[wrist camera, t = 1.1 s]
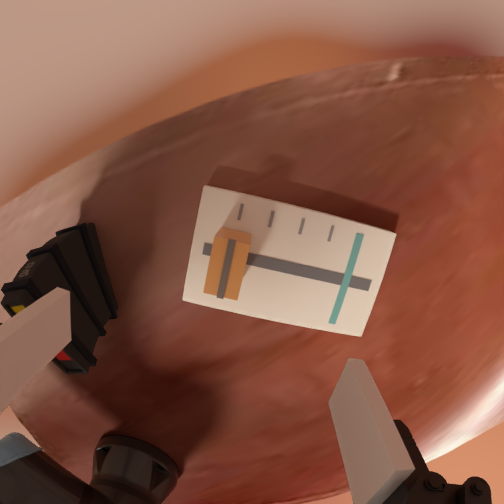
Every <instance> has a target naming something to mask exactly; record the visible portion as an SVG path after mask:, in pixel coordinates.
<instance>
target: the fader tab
mask: <svg viewBox="0 0 504 504" xmlns="http://www.w3.org/2000/svg"><path fill="white" fill-rule="evenodd" d="M251 236H252V234H250V233H246V232H241V231H237V230H233V229H228V228H224V227H221V228H220V229H219V231H218V232H217V233H216V235H215V236H214V240H213V245H212V250H211V255H210V260H209V265H208V270H207V275H206V280H205V286H204V291H203V293H206V294H211V295H215V296H217V297H216V298H220V299H223V298H228V299H232V300H238V296H239V292H240V287H241V283H242V279H243V275H244V270H245V266H246V262H247V257H248V253H249V249H250V245H251Z"/></svg>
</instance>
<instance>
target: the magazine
mask: <svg viewBox="0 0 504 504" xmlns="http://www.w3.org/2000/svg"><path fill="white" fill-rule="evenodd" d="M26 256H27V258H28V261H27V262H26V263H25V264H24V265H23V267H22V268H21V269H20V270H19V271H18V273H17V275H16V276H15V278H14V280H13V282H9V283H5V284H4V285H3V287H2V289H1V291H2V292H3V293H4V295H5V296H4V298H3V299H2V301H1V305H2V306H3V307H4V309H5V310H6V311H7V312H8V313H9V315H10V316H11V317H13V316H15V315H16V314H18V313H19V312H20V311H22V310H23V309H25V308H26V307H28V306H29V305H31V304H32V303H34V302H35V301H37V300H38V299H40V298H41V297H43V296H45V295H46V294H48V293H49V292H51V291H52V290H54V289H55V288H57V287H59V288H62V289H65V290H67V291H70V320H71V341H70V342H69V343H68V344H67V345H66V346H65V347H64V348H63V349H62V350H61V351H60V352H59V353H58V354H57V355H56V356H55V357H54V358H53V359H52V361H53V362H54V363H55V364H56V365H57V366H58V367H59V368H60V369H61V370H63V371H64V372H65V373H67V374H88V370H89V366H95V365H96V362H97V359H96V358H95V357H94V356H93V351H94V347H95V344H96V341H97V339H98V337H99V336H105V335H106V331H105V329H104V328H103V327H104V325H105V324H106V322H107V321H108V319H116V318H117V314H116V310H117V309H118V306H117V303H116V300H115V297H114V294H113V291H112V288H111V284H110V281H109V278H108V274H107V271H106V268H105V264H104V260H103V257H102V253H101V249H100V246H99V242H98V238H97V234H96V230H95V226H94V224H93V223H89V224H86V223H83V224H80V225H76V226H73V227H70V228H66V229H63V230H60V231H57V232H56V237H54V238H52V239H51V240H49V241H48V242H47V243H45V244H44V245H43V246H42V247H40V248H36V249H33V250H30V251H29V253H28V254H27V255H26Z"/></svg>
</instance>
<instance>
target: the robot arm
mask: <svg viewBox="0 0 504 504" xmlns="http://www.w3.org/2000/svg"><path fill="white" fill-rule="evenodd" d="M70 341H71V320H70V291H67V290H65V289H62V288H59V287H57V288H55V289H54V290H52V291H51V292H49V293H48V294H46V295H45V296H43V297H41V298H40V299H38V300H37V301H35V302H34V303H32V304H31V305H29V306H28V307H26V308H25V309H23V310H22V311H20V312H19V313H18V314H16V315H15V316H13V317H12V318H10V319H9V320H7V321H6V322H5V323H3V324H2V323H0V414H1V413H2V412H3V411H4V410H5V409H6V408H7V407H8V405H9V404H10V403H11V402H12V401H13V400H14V399H15V398H16V397H17V396H18V395H19V394H20V392H21V391H22V390H23V389H24V388H25V387H26V386H27V385H28V384H29V383H30V382H31V381H32V380H33V379H34V378H35V377H36V376H37V375H38V374H39V372H40V371H41V370H42V369H43V368H44V367H45V366H46V365H47V364H48V363H49V362H50V361H51V360H52V359H53V358H54V357H55V356H56V355H57V354H58V353H59V352H60V351H61V350H62V349H63V348H64V347H65V346H66V345H67V344H68V343H69V342H70ZM328 403H329V407H330V411H331V415H332V419H333V422H334V426H335V430H336V434H337V438H338V442H339V446H340V450H341V454H342V458H343V462H344V466H345V470H346V474H347V478H348V483H349V487H350V491H351V495H352V500H353V504H492V501H491V490H490V487H489V485H488V483H487V482H486V481H485V480H484V479H482V478H480V477H470V478H468V479H467V480H466V481H465V482H464V484H462V485H456V484H447V482H446V480H445V479H444V478H443V477H442V476H441V475H440V474H438V473H435V472H432V471H429V470H428V468H427V466H426V463H425V461H424V459H423V457H422V455H421V453H420V451H419V449H418V447H417V446H416V443H415V441H414V439H412V435H411V433H410V431H409V429H408V427H407V426H406V425H405V424H404V423H403V422H402V421H401V420H393V419H392V417H391V415H390V413H389V411H388V409H387V407H386V404H385V402H384V400H383V398H382V396H381V394H380V392H379V390H378V388H377V386H376V384H375V382H374V380H373V378H372V376H371V374H370V372H369V370H368V368H367V366H366V364H365V362H364V360H361V359H353V358H348V361H347V363H346V365H345V367H344V370H343V372H342V374H341V376H340V379H339V381H338V383H337V385H336V387H335V389H334V392H333V394H332V396H331V398H330V400H329V402H328ZM42 450H43V449H42V448H40V447H37V446H36V445H35V444H33V443H32V442H31V441H30V440H28V439H27V438H26V437H25V436H24V435H22V434H20V433H16V432H14V433H10V434H8V435H6V436H5V437H3V438H2V439H1V440H0V504H162V503H163V502H164V501H165V500H166V498H167V497H168V496H169V495H170V493H171V492H172V491H173V489H174V488H175V486H176V484H177V480H178V476H179V472H178V468H177V466H176V465H175V463H174V462H173V461H172V460H171V459H170V458H169V457H168V456H167V455H166V454H164V453H163V452H162V451H160V450H159V449H157V448H155V447H153V446H151V445H149V444H147V443H145V442H143V441H140V440H137V439H134V438H130V437H126V436H118V435H113V436H107V437H104V438H102V439H101V440H100V441H99V443H98V444H97V446H96V448H95V450H94V455H93V470H92V480H91V482H90V484H89V485H88V484H87V483H85V482H84V481H82V480H81V479H79V478H78V477H76V476H75V475H73V474H72V473H71V472H69V471H68V470H66V469H65V468H64V467H62V466H61V465H60V464H58V463H57V462H56V461H55V460H53V459H52V458H51V457H50V456H48V455H47V454H46V453H45V452H43V451H42Z"/></svg>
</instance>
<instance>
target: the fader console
mask: <svg viewBox="0 0 504 504" xmlns="http://www.w3.org/2000/svg"><path fill="white" fill-rule="evenodd" d="M221 227H224V228H228V229H233V230H237V231H241V232H246V233H250V234H252V236H251V245H250V249H249V253H248V257H247V262H246V266H245V270H244V275H243V279H242V283H241V287H240V292H239V296H238V300H232V299H228V298H223V299H220V298H216V297H217V296H215V295H211V294H206V293H203V291H204V286H205V280H206V275H207V270H208V265H209V260H210V255H211V250H212V245H213V240H214V236H215V235H216V233H217V232H218V231H219V229H220V228H221ZM395 237H396V234H395V233H393V232H391V231H389V230H386V229H382V228H379V227H375V226H372V225H368V224H365V223H361V222H357V221H354V220H350V219H346V218H343V217H339V216H335V215H332V214H328V213H324V212H320V211H316V210H312V209H308V208H304V207H301V206H296V205H292V204H288V203H284V202H280V201H276V200H272V199H268V198H263V197H259V196H255V195H250V194H246V193H241V192H237V191H232V190H228V189H223V188H219V187H214V186H209V185H205V186H204V187H203V191H202V196H201V201H200V206H199V211H198V216H197V221H196V226H195V231H194V236H193V242H192V247H191V253H190V258H189V264H188V270H187V275H186V281H185V287H184V293H183V301H187V302H192V303H196V304H200V305H204V306H208V307H212V308H217V309H221V310H225V311H230V312H234V313H239V314H243V315H248V316H253V317H257V318H262V319H267V320H272V321H277V322H282V323H287V324H292V325H297V326H302V327H308V328H313V329H319V330H324V331H330V332H336V333H342V334H348V335H354V336H360V337H361V336H362V333H363V331H364V328H365V326H366V323H367V320H368V318H369V315H370V312H371V310H372V307H373V304H374V302H375V299H376V296H377V293H378V290H379V287H380V284H381V282H382V279H383V276H384V273H385V269H386V266H387V263H388V260H389V257H390V254H391V250H392V247H393V244H394V240H395Z"/></svg>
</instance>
